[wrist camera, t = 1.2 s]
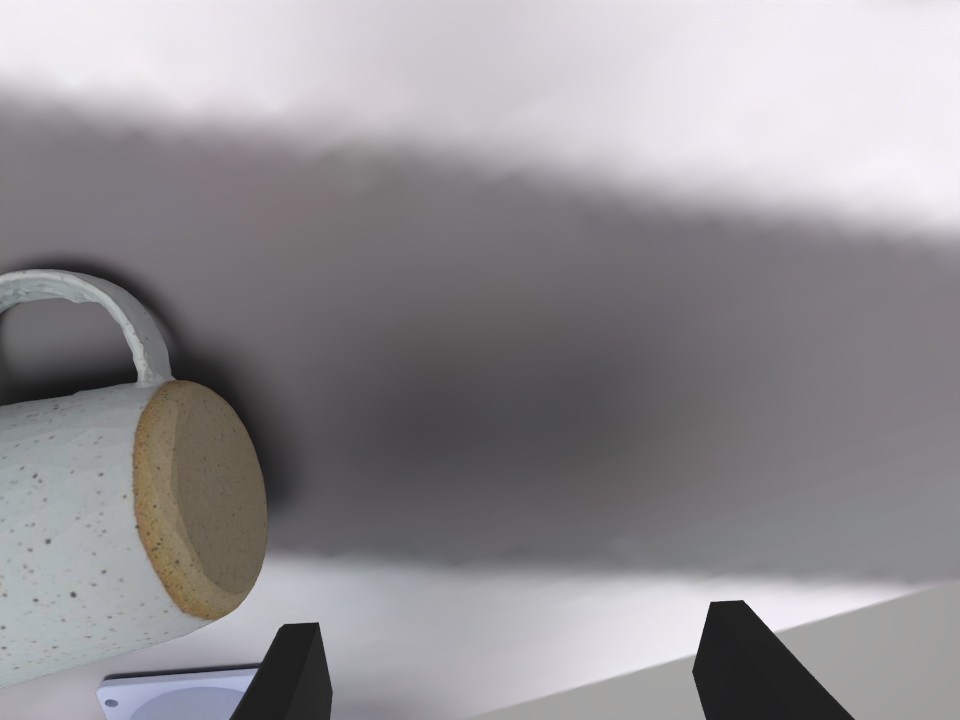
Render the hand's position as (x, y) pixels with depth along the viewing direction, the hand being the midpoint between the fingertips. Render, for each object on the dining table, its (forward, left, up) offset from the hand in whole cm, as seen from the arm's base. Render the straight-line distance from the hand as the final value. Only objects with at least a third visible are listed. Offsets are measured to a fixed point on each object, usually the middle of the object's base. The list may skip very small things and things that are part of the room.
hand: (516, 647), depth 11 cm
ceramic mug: (-1, +12, -11) cm, 16 cm away
